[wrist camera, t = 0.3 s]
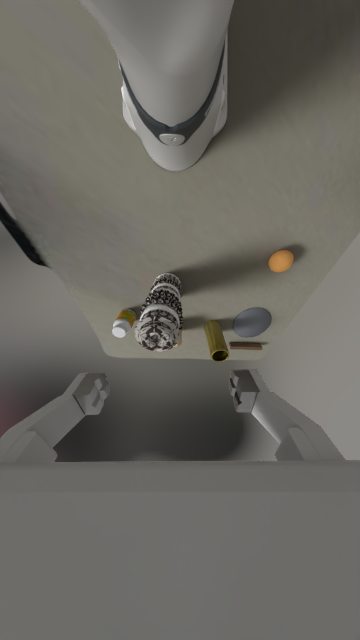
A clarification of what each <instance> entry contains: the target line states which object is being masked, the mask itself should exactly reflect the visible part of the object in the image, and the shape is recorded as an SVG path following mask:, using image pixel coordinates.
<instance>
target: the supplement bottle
mask: <svg viewBox="0 0 360 640" xmlns="http://www.w3.org/2000/svg"><path fill="white" fill-rule="evenodd" d="M135 319H136V314H135V313H134V312H133V311H132V310H130V309H124V310H122V311H121V313H120V314H119V316H118V317H117V319H116V320H115V322H114V324H113V327H114V328H113V330H112V332H113V334H114V335H115V336H116V337H120V338H121V337H124V336H125V335H126V333H128V332H129V331H130V330H131V328H132V326H133V323H134V321H135Z"/></svg>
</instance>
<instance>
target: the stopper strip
mask: <svg viewBox="0 0 360 640" xmlns="http://www.w3.org/2000/svg"><path fill="white" fill-rule="evenodd" d="M229 346H230V349H248V350H262V346H261V344H260V343H238V342H229Z"/></svg>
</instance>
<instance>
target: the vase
mask: <svg viewBox="0 0 360 640" xmlns="http://www.w3.org/2000/svg"><path fill="white" fill-rule="evenodd" d="M204 330H205V334H206V337H207V341H208V345H209V350H210V355H211V358H212V360H213V361H215V362H223V361H225V360H227V359H228V358H229V352H228V349H227V346H226V343H225V340H224V336H223V333H222V329H221V325H220V323H219V322H218V321H216V320H211V321H208V322H207V323H206V324H205V325H204Z"/></svg>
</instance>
